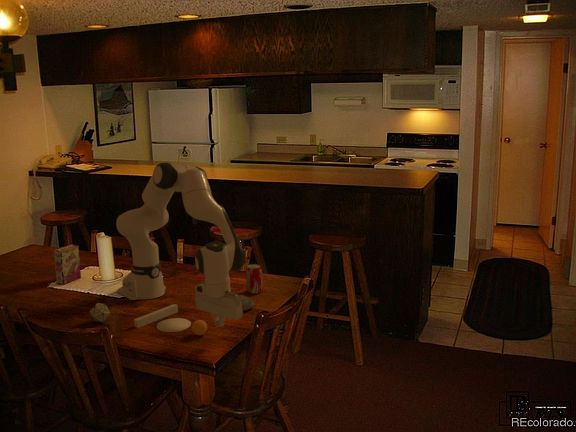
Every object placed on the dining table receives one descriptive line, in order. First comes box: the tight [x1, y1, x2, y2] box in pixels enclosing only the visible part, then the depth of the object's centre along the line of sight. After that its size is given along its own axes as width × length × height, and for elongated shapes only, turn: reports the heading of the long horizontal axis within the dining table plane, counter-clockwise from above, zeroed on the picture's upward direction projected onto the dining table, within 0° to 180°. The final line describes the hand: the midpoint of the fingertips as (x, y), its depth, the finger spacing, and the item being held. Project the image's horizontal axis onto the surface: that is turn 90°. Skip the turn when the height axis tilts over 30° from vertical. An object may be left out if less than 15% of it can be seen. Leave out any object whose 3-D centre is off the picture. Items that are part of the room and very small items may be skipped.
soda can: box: [245, 263, 263, 295], centre depth 259 cm, size 7×7×12 cm
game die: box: [87, 300, 114, 325], centre depth 229 cm, size 9×8×10 cm
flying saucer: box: [237, 294, 255, 312], centre depth 242 cm, size 15×15×6 cm
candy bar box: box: [53, 244, 82, 286], centre depth 277 cm, size 11×5×16 cm, turn 154°
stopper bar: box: [133, 303, 179, 329], centre depth 231 cm, size 2×20×3 cm, turn 141°
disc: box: [156, 317, 192, 333], centre depth 226 cm, size 13×13×1 cm
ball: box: [191, 319, 208, 336], centre depth 216 cm, size 6×6×6 cm
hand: (219, 325), depth 209 cm, fingers closed
